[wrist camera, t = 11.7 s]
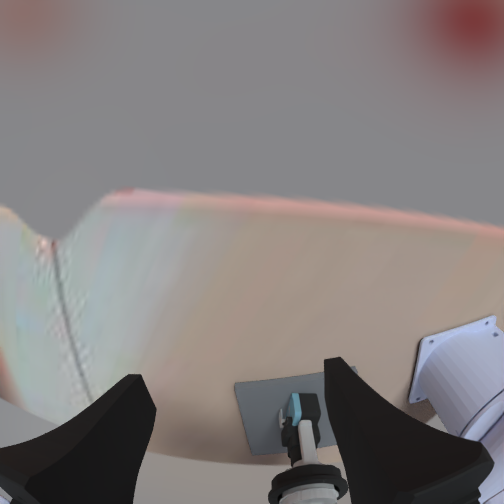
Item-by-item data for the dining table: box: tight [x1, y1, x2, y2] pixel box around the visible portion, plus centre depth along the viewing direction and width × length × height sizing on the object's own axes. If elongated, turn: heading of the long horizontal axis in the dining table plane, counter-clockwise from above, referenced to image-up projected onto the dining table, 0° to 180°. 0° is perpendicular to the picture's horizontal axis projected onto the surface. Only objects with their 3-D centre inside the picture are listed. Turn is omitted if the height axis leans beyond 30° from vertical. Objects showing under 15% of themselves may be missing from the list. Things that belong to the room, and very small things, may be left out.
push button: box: [268, 393, 348, 504], centre depth 18 cm, size 7×5×10 cm
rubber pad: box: [235, 366, 357, 455], centre depth 24 cm, size 10×10×1 cm
